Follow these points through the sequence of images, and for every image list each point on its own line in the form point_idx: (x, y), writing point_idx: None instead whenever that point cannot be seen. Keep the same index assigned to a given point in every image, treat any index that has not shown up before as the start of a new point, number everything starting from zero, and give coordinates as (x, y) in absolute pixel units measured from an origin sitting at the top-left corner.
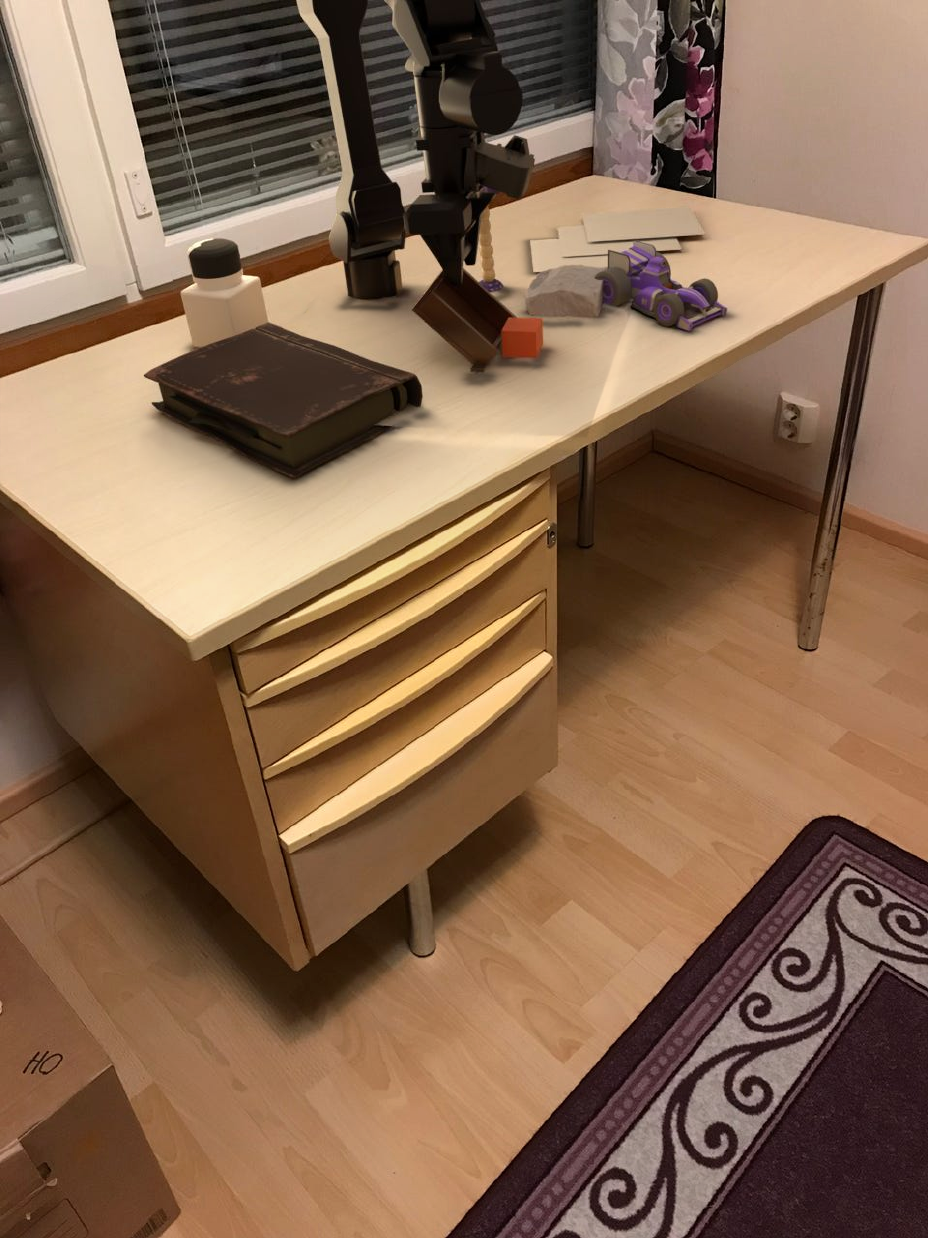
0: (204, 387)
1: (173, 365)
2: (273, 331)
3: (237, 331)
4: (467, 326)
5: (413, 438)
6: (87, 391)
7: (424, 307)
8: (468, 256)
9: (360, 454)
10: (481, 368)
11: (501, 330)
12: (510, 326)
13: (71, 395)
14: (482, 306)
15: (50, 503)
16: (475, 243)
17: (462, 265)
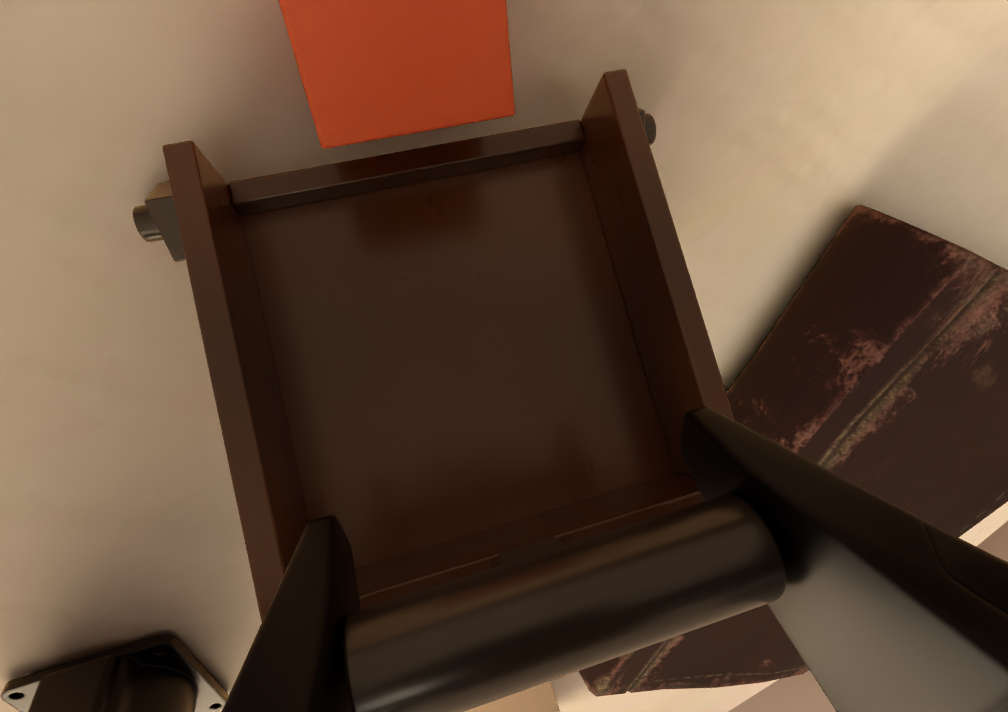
0: None
1: (796, 664)
2: (642, 662)
3: (550, 708)
4: (679, 246)
5: (965, 155)
6: (692, 693)
7: None
8: (349, 588)
9: (998, 241)
10: (644, 121)
11: (512, 113)
12: (450, 81)
13: (703, 695)
14: (258, 338)
15: (982, 531)
16: (325, 657)
17: (802, 479)
